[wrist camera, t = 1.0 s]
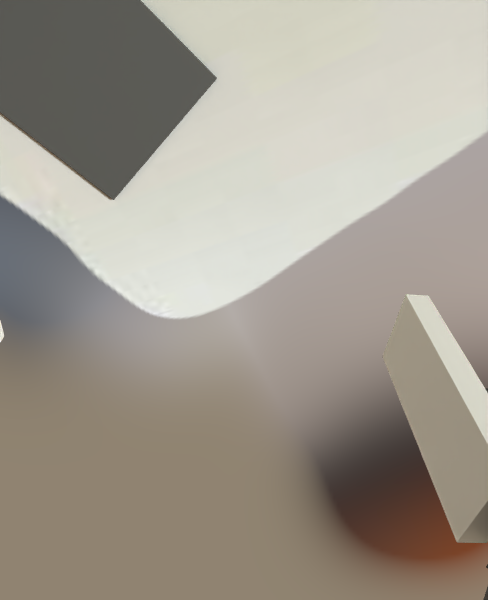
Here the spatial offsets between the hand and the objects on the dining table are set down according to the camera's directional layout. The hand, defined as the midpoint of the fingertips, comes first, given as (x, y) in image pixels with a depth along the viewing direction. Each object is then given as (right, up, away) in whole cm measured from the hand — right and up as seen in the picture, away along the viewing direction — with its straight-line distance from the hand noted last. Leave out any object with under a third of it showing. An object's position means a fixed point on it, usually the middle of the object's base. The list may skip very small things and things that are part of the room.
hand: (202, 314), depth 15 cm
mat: (-11, +18, +19) cm, 28 cm away
